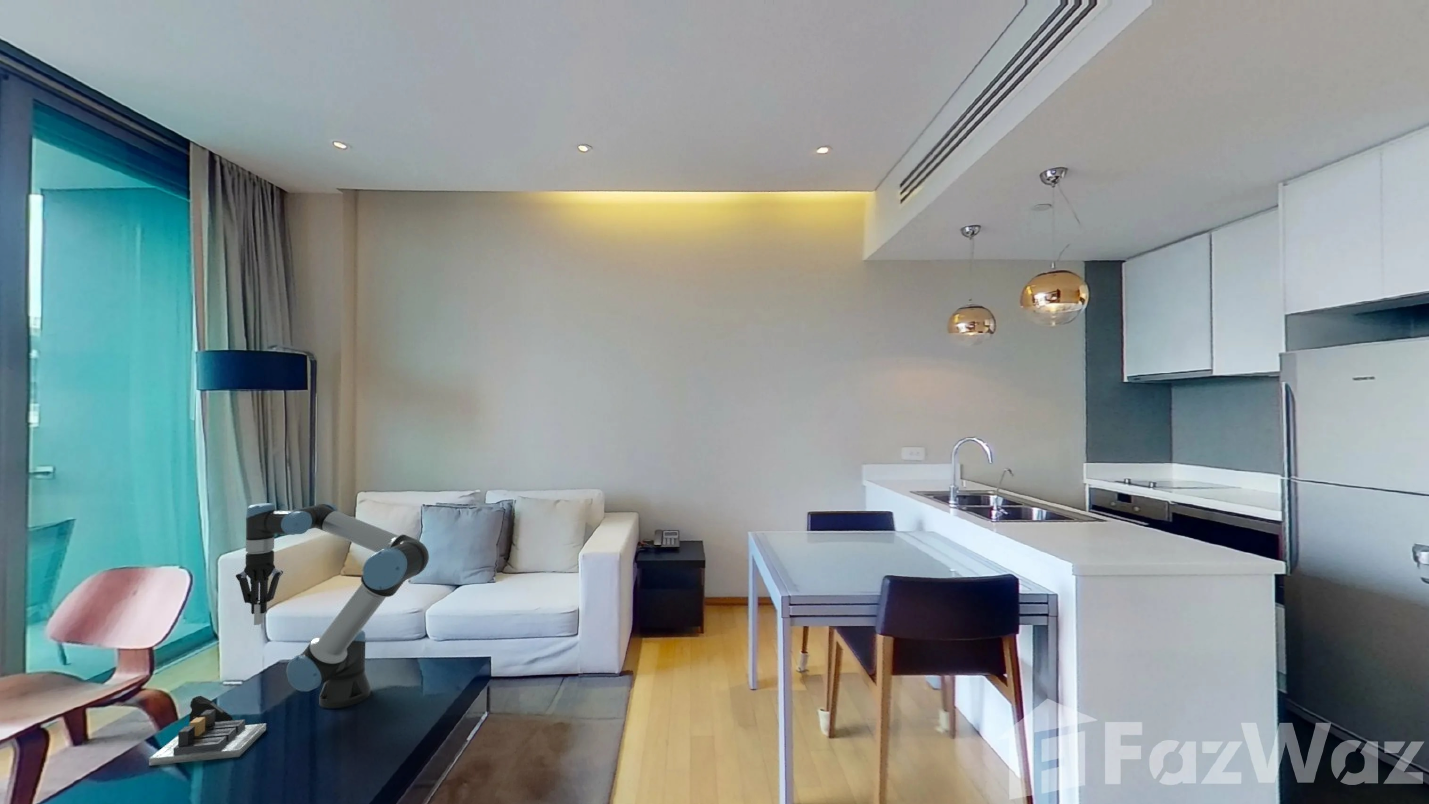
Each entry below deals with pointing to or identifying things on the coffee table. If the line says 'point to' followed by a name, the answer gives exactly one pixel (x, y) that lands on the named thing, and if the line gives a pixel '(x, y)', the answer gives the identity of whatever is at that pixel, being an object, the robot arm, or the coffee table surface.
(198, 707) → the gun
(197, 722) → the handle
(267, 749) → the coffee table surface
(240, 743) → the panel
